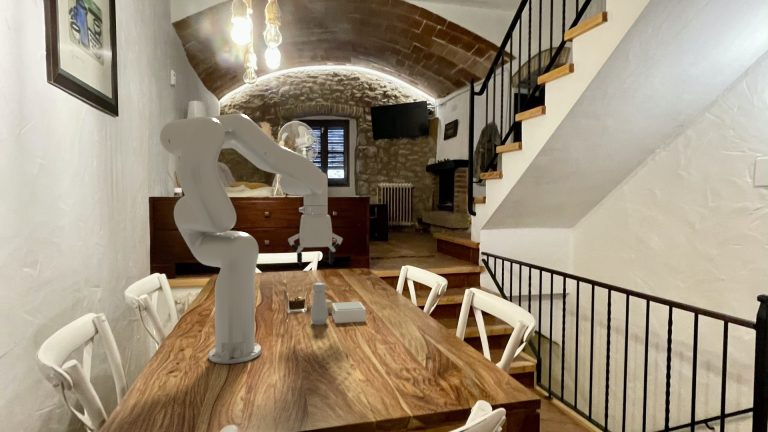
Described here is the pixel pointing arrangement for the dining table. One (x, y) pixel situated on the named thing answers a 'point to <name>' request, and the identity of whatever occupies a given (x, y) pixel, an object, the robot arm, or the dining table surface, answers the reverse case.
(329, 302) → the tan block
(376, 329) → the dining table surface
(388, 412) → the dining table surface
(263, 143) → the robot arm
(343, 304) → the base block
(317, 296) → the salt shaker
